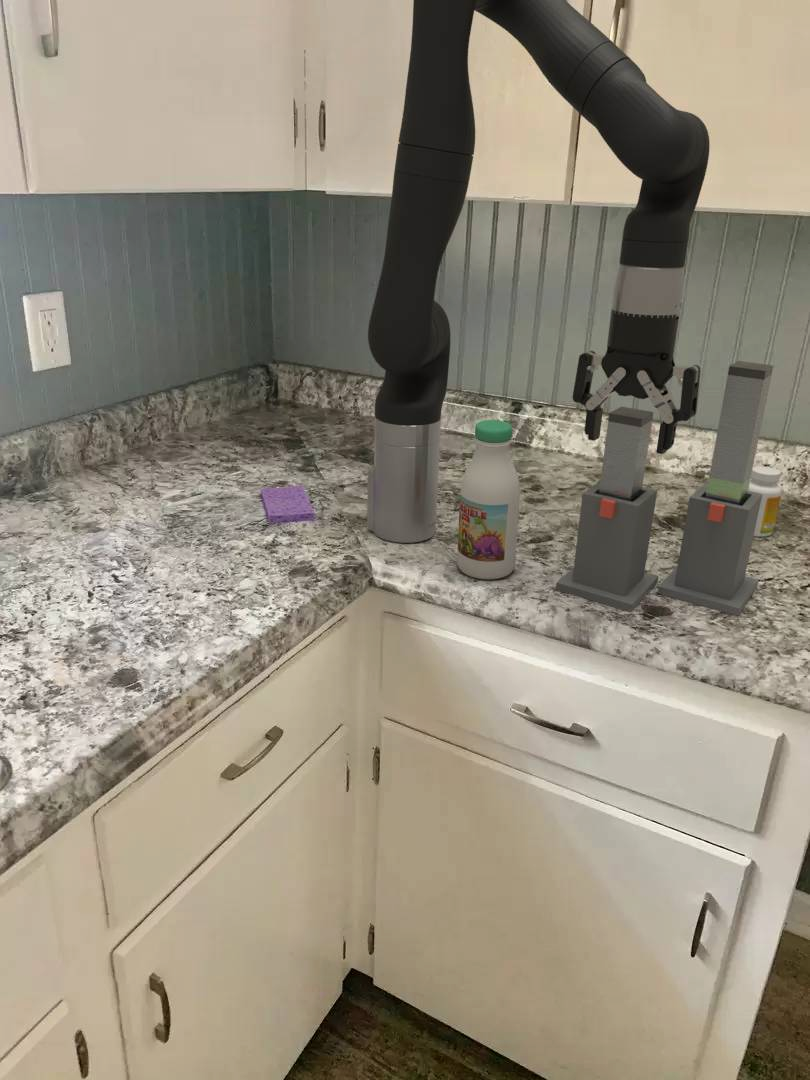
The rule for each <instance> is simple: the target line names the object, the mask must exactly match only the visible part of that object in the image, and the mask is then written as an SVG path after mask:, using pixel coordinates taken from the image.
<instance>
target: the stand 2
mask: <svg viewBox="0 0 810 1080" xmlns="http://www.w3.org/2000/svg"><path fill="white" fill-rule="evenodd" d="M707 484H708V481H707V482H704V483H703V484H702V485H701V486H700V487H699V488H698V489H697V490H696V491H694V493H692V495H690V497H689V499H688V505H687V509H686V514H685V515H686V516H685V520H684V521H685V522H684V527H683V532H682V539H681V544H680V550H679V557H678V561H677V565H676V566H675V568H673V570H672V571H671V572H670V573H669V574H668V575H667V577H666V578H664V580H663V581H662V582H661V583H660V585H659V586H658V589H657V594H659V595H662V596H667V597H669V598H674V599H677V600H681V601H684V602H688V603H691V604H695V605H698V606H702V607H704V608H705V607H706V608H709V609H712V610H715V611H719V612H723V613H727V614H730V615H734V616H739V615H740V614H741V613H742V611H743V609H744V608H745V606H746V605H747V604H748V602H749V600H750V599H751V597H752V595H753V594H754V592H755V591H756V589H757V587H758V585H759V578H753V577H750V576H747V575H746V574H747V568H748V563H749V560H750V554H751V550H752V546H753V540H754V537H755V536H754V532H755V527H756V522H757V518H758V513H759V508H760V504H761V499H762V494H760V493H755V492H750V491H748V493H747V498H746V502H745V503H744V505H743V506H740V505H736V504H731V503H727V502H722V501H717V500H713V499H708V498H705V496H706V490H707Z"/></svg>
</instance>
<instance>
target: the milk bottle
mask: <svg viewBox="0 0 810 1080" xmlns="http://www.w3.org/2000/svg"><path fill="white" fill-rule="evenodd" d="M512 437H513V425H512V424H511V423H510V422H508V421H504V420H499V419H484V420H481V421H478V422H477V423H476V424H475V427H474V442H475V443H476V444H475V445H476V446H475V450H474V453H473V456H472V458H471V460H470V462H469V464H468V465H467V467H466V469H465V472H464V473H463V477H462V479H461V485H460V494H459V510H458V511H459V512H458V531H457V532H458V533H457V553H456V554H457V556H456V557H457V558H456V560H457V567H458V568H459V571H461V572H462V573H463V574H465V575H466V576H469V577H471V578H475V579H480V580H497V579H502V578H505V577H508V576H509V575H511V574H512V572H513V571H514V569H515V567H516V566H515V564H516V558H517V547H518V546H517V545H518V543H517V542H518V529H519V514H520V499H521V497H520V495H521V491H520V479H519V476H518V473H517V470H516V467H515V465H514V462H513V460H512V454H511V451H510V450H511V449H510V445H511V444H512V442H513V441H512Z"/></svg>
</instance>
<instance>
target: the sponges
mask: <svg viewBox="0 0 810 1080" xmlns="http://www.w3.org/2000/svg"><path fill="white" fill-rule="evenodd" d="M260 496H261V501H262V504H263V507H264V511H265V515H266V518H267V522H268V524H280V523H281V524H282V523H296V522H309V521H314V520H315V510H314V508H313V506H312V505H311V501H310V499H309V497H308V495H307V492H306V489H305V487H304V485H303V484H302V485H294V486H293V485H292V486H285V487H274V488H273V487H271V488H270V487H266V488H265V487H264V488H260Z"/></svg>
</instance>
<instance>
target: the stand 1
mask: <svg viewBox="0 0 810 1080" xmlns="http://www.w3.org/2000/svg"><path fill="white" fill-rule="evenodd" d="M599 488H600V481H598V482H597V483H596V484H594V485H592V486H591V487H590V488H588V489H586V491H584V492H582V495H581V496H582V497H581V504H580V505H581V506H580V513H579V522H578V529H577V530H578V531H577V538H576V546H575V555H574V563H573V568H572V569H570V571H568V572H567V573H566V574H565V575H564V576H563V577H561V578H559V580H558V581H556V584H555V590H556V591H560V592H563V593H566V594H570V595H573V596H576V597H579V598H583V599H587V600H590V601H593V602H596V603H600V604H603V605H606V606H608V607H609V606H610V607H614V608H617V609H619V610H620V609H621V610H624V611H627V612H630V613H631V612H633V611H634V609H635V608H636V607H637V606H638V605H639V604H640V603H641V601H643V599H644V598H645V597H646V596H647V595H648V594H649V592H651V591H652V590H653V589H654V588H655V586H656V585H657V584H658V583H659V582H658V581H659V577H660V575H656V574H653V573H649V572H645V571H646V565H647V557H648V553H649V552H648V551H649V545H650V540H651V539H650V538H651V533H652V528H653V527H652V526H653V520H654V514H655V508H656V502H657V495H658V489H653V488H649V487H645V486H642V492H641V496H640V497H639V498H637V499H636V500H635V501H634V502H631V501H626V500H622V499H618V498H613V497H609V496H604V495H600V494H599Z"/></svg>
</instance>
